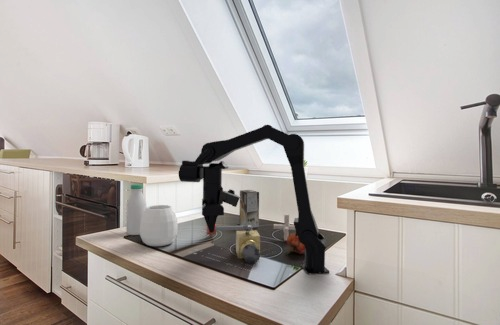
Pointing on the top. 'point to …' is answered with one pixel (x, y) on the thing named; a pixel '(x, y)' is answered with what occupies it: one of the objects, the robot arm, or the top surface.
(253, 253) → the valve
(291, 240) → the pomegranate
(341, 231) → the top surface
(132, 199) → the milk bottle
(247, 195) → the coffee box
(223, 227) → the lever
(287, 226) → the pipe connector
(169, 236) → the white faceted vase
